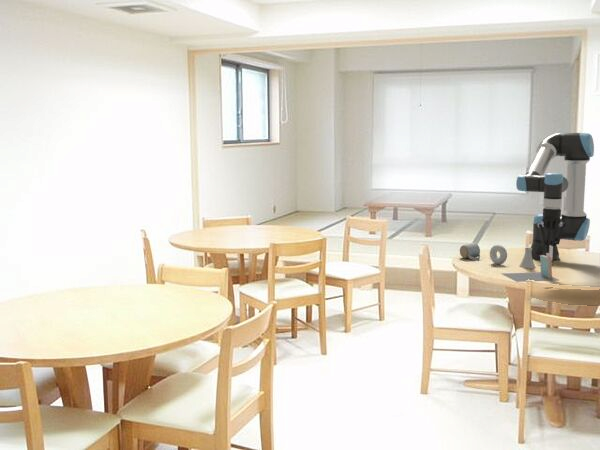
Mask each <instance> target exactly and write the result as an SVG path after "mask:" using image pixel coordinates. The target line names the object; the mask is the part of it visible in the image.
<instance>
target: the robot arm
mask: <svg viewBox="0 0 600 450" xmlns="http://www.w3.org/2000/svg"><path fill="white" fill-rule="evenodd" d="M594 143H595V142H594V137H593V136H592V134H591V133H587V132H558V133H557V132H556V133H552V134H550V135H548V136H547V137H545V138H544V139H543V140H542V141H540V143H539V144H538V145H537V147H536V154H535V156H534V158H533V159H532V161H531V164H530V166H528V169H527V170H526V173H525V174H521V175H518V176H517V177H516V181H515V182H516V190H517V191H520V192H526V193H527V192H532V193H534V192H535V193H543V204H542V205H543V208H542V213H539V214H536V215H535V216H534V217H533V223H532V224H533V225H532V226H533V227H532V243H531V245H530V247H529V248H532V250H531V254H532V259H533V260H540V255H545V256H547V257H550V258H551V262H552V261H557V260H559V259H560V253H559V249H558V245H560V242H561V240H565V241H566V240H567V241H579V242H582V241H585V240H586V239H587V236H588V233H589V231H590V226H591V225H590V223H591V220H590V218H589V217H587V216H588V215H587V213H586V212H585V210H584V209H585V208H584V207H585V190H586V188H585V187H586V175H587V174H586V173H587V172H586V171H587V164H588V163H589V162H590V160H591V158H593V157H594V154H595V145H594ZM555 157H564V162H566V165H567V167H566V170H567V171H566V177H565V176H564V175H563V174H562V173H560V172H550V173H549V172H547V173H546V171H547V169H548V167H549V165H550V163H551V161H552V160H553V159H554V158H555ZM564 192H565V203H564V204H565V205H564V206H565V208H564V211H563V212H562V209H561V208H562V200H563V199H562V198H563V193H564Z"/></svg>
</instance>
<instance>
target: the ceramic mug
mask: <svg viewBox="0 0 600 450" xmlns="http://www.w3.org/2000/svg"><path fill="white" fill-rule="evenodd" d="M459 254H460V256H461V258H463V259H470V260H473V261H479V260H480V258H481V249H480V246H479V244H478V243H476V242H472V243H468V244H463V245H461V246H460V247H459Z"/></svg>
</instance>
